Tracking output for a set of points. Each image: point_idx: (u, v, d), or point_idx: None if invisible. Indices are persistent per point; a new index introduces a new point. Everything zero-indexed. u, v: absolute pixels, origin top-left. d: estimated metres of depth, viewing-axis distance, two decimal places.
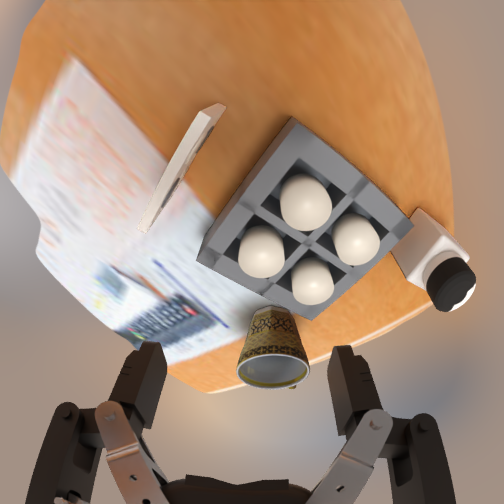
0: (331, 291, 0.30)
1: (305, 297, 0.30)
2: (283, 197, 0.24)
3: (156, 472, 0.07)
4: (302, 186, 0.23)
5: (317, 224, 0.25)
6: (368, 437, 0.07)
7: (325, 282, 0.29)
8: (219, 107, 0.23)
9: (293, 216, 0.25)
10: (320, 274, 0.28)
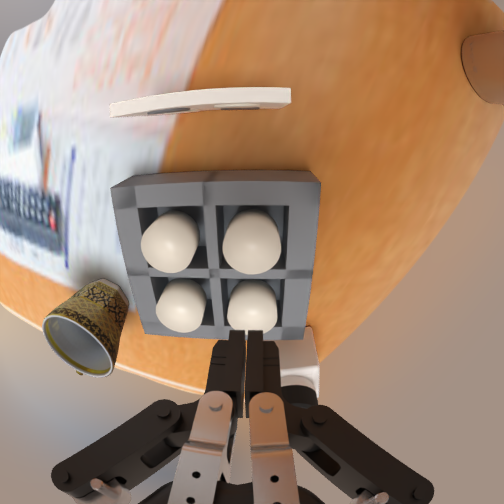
0: (191, 329, 0.26)
1: (165, 314, 0.25)
2: (245, 221, 0.21)
3: (223, 475, 0.07)
4: (270, 229, 0.21)
5: (244, 269, 0.23)
6: (266, 422, 0.08)
7: (195, 318, 0.25)
8: None
9: (234, 243, 0.22)
10: (198, 308, 0.25)
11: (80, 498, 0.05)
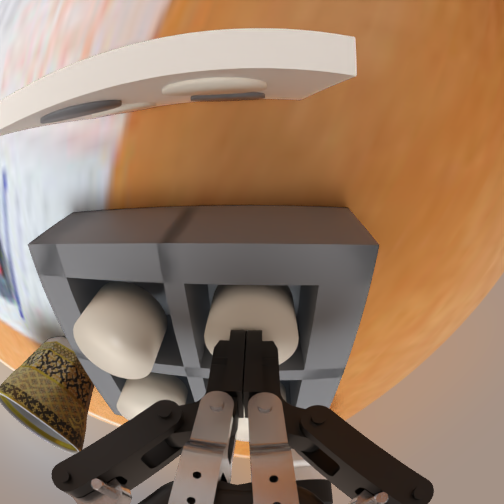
0: None
1: (130, 414, 0.15)
2: (240, 302, 0.12)
3: (224, 475, 0.07)
4: (282, 316, 0.12)
5: None
6: (265, 422, 0.08)
7: None
8: None
9: (223, 334, 0.13)
10: None
11: (80, 498, 0.05)
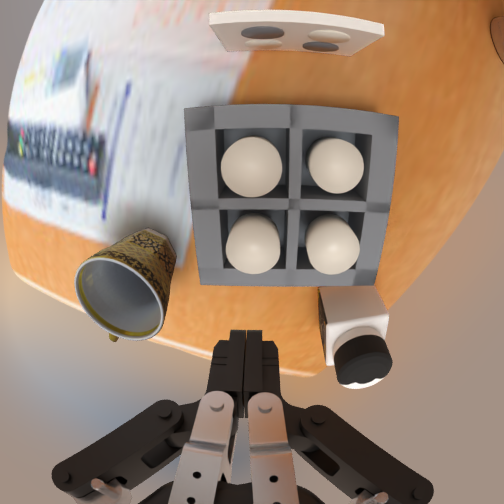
0: (264, 269, 0.24)
1: (237, 250, 0.23)
2: (333, 139, 0.20)
3: (224, 475, 0.07)
4: (355, 148, 0.20)
5: (329, 187, 0.22)
6: (265, 422, 0.08)
7: (271, 254, 0.23)
8: None
9: (322, 160, 0.21)
10: (277, 241, 0.23)
11: (80, 498, 0.05)
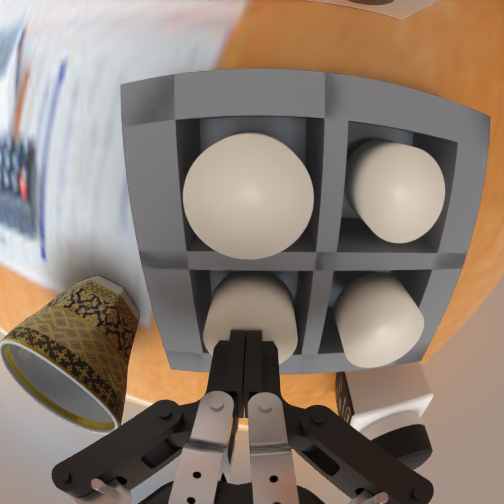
0: None
1: None
2: (401, 145, 0.10)
3: (224, 475, 0.07)
4: (435, 164, 0.10)
5: (388, 233, 0.12)
6: (265, 422, 0.08)
7: (282, 346, 0.13)
8: (420, 4, 0.08)
9: (383, 183, 0.11)
10: (294, 329, 0.12)
11: (80, 498, 0.05)
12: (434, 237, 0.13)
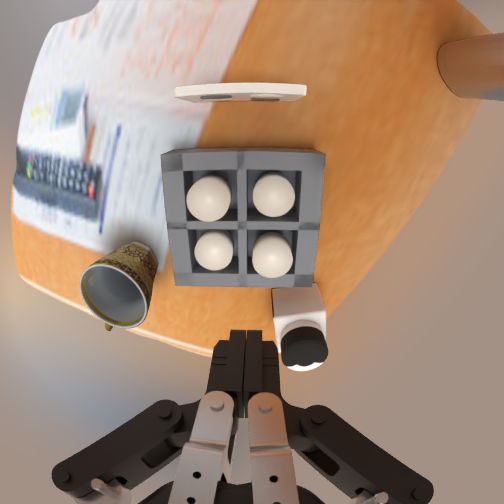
0: (222, 266, 0.34)
1: (202, 253, 0.33)
2: (270, 176, 0.29)
3: (224, 475, 0.07)
4: (287, 182, 0.29)
5: (267, 212, 0.31)
6: (265, 422, 0.08)
7: (226, 256, 0.33)
8: None
9: (261, 192, 0.30)
10: (230, 247, 0.33)
11: (80, 498, 0.05)
12: (298, 215, 0.32)
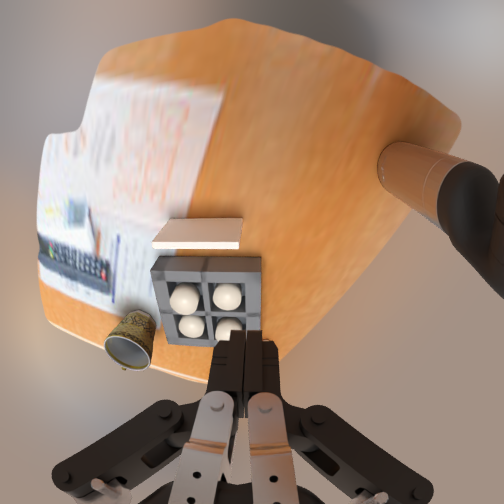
0: (197, 336, 0.49)
1: (183, 328, 0.48)
2: (223, 287, 0.44)
3: (224, 475, 0.07)
4: (235, 291, 0.44)
5: (223, 308, 0.45)
6: (265, 422, 0.08)
7: (199, 330, 0.48)
8: (241, 227, 0.42)
9: (218, 296, 0.44)
10: (201, 325, 0.48)
11: (80, 498, 0.05)
12: (245, 307, 0.47)
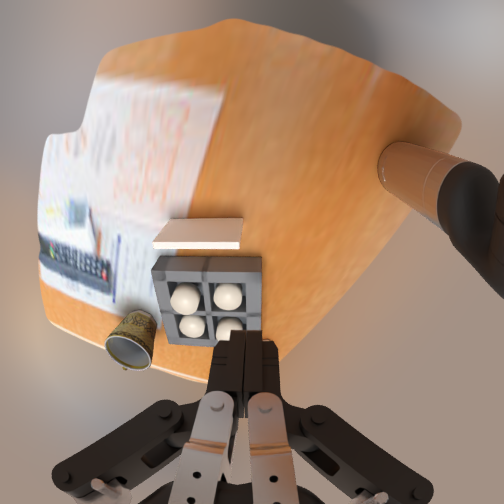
0: (198, 336, 0.49)
1: (184, 328, 0.48)
2: (224, 287, 0.44)
3: (224, 475, 0.07)
4: (235, 291, 0.44)
5: (224, 308, 0.46)
6: (265, 422, 0.08)
7: (200, 330, 0.48)
8: None
9: (219, 296, 0.45)
10: (202, 325, 0.48)
11: (80, 498, 0.05)
12: (246, 307, 0.47)
